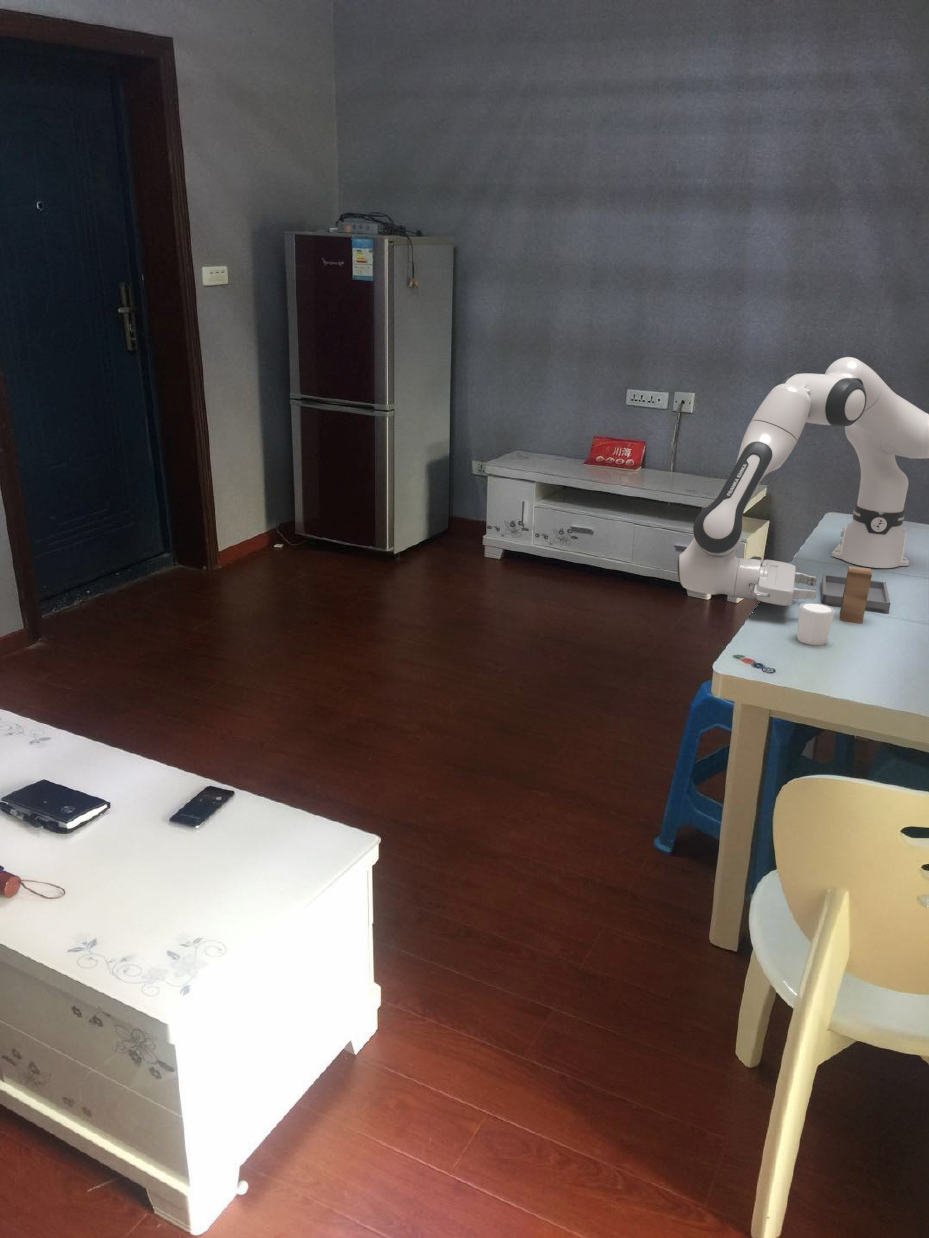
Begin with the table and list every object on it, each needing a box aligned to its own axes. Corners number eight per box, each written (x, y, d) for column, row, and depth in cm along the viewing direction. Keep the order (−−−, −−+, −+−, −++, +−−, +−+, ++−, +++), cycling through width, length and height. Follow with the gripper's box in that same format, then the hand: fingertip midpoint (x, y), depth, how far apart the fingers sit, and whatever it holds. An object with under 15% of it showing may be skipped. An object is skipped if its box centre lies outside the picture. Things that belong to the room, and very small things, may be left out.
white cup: (829, 636, 198) (835, 604, 196) (829, 648, 192) (835, 615, 189) (794, 631, 200) (799, 600, 198) (793, 643, 194) (799, 610, 191)
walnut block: (839, 613, 211) (848, 566, 208) (861, 616, 210) (870, 568, 206) (839, 620, 207) (849, 572, 204) (862, 623, 206) (871, 574, 202)
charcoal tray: (821, 583, 231) (822, 574, 230) (883, 591, 227) (885, 582, 226) (821, 604, 217) (823, 594, 216) (888, 613, 213) (890, 603, 212)
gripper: (749, 579, 203) (818, 588, 199) (755, 553, 221) (818, 561, 217) (745, 607, 205) (813, 617, 201) (751, 579, 223) (814, 587, 219)
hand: (816, 588), depth 209 cm, fingers open, 8 cm apart
